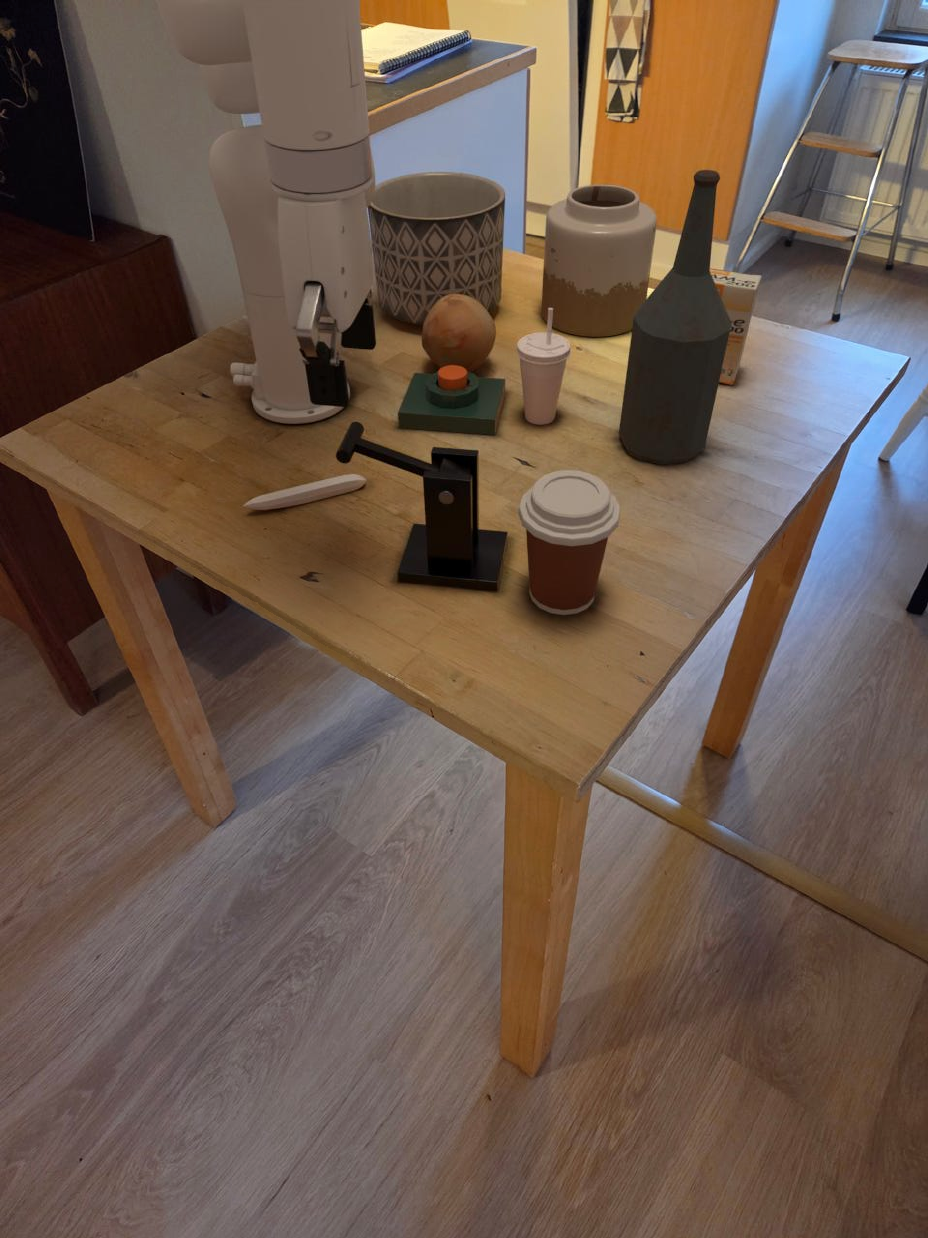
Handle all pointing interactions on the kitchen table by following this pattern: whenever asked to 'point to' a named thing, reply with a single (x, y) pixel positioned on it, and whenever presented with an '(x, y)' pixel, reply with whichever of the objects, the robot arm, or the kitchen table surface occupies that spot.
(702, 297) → the bottle
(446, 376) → the button
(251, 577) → the kitchen table surface
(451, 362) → the onion
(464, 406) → the button block
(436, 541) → the bracket
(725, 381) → the supplement box
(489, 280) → the planter
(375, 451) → the lever
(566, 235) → the vase
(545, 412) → the smoothie
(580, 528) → the coffee cup
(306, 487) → the pen
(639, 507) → the kitchen table surface
